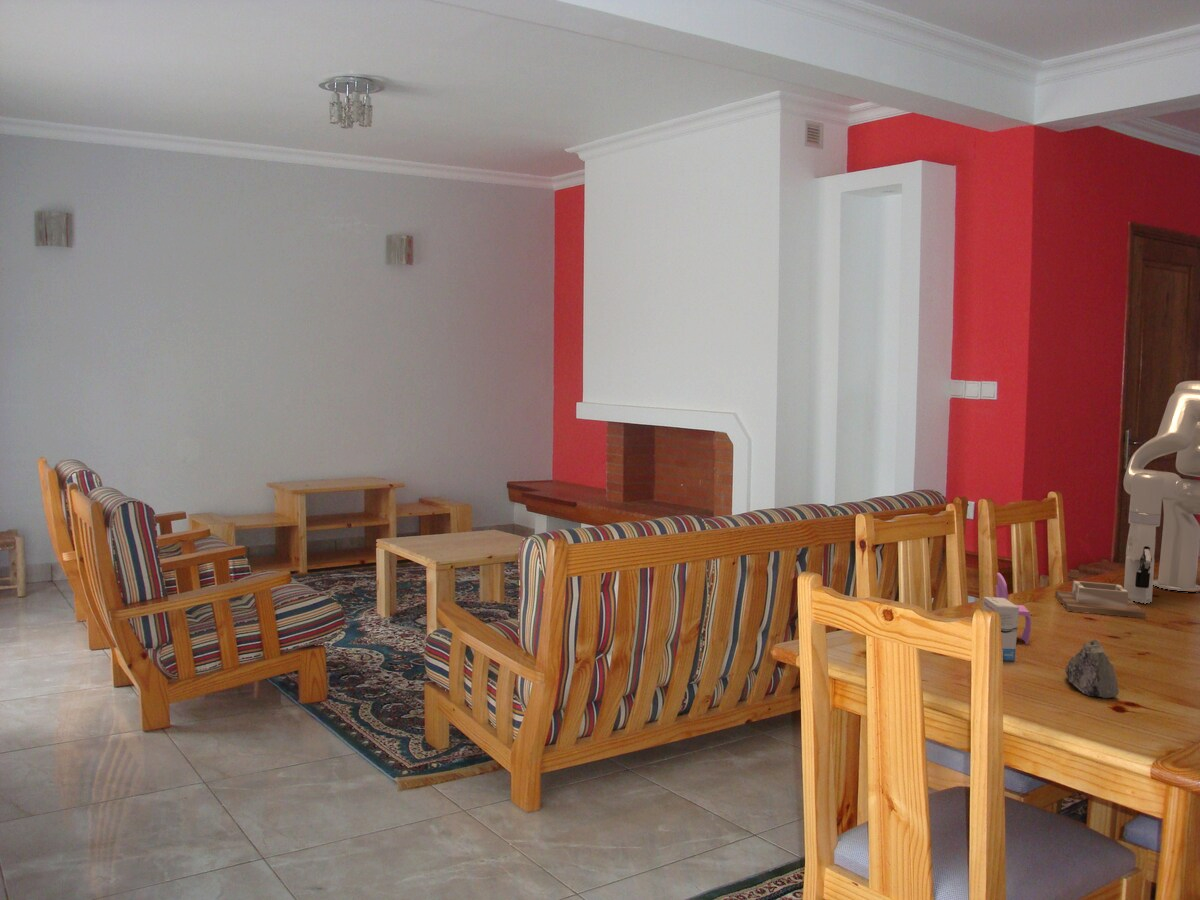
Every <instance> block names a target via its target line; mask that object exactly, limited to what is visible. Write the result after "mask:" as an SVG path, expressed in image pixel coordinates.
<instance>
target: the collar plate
mask: <svg viewBox="0 0 1200 900" xmlns="http://www.w3.org/2000/svg"><path fill="white" fill-rule="evenodd" d="M1055 595H1056V596H1055ZM1055 595H1054V596H1055V597H1057V598H1058V599H1059V600H1060V601H1061V603H1062V604H1063V605H1064V606H1065V607H1064V606H1063V605H1062V604H1061V603H1060V604H1061V605H1062V606H1063V607H1064V609H1065V608H1066V609H1067V610H1069V611H1079V612H1089V613H1098V614H1097V615H1100V614H1106V615H1105V616H1110V615H1117V616H1116V617H1121V616H1128V617H1127V618H1131V617H1136V618H1135V619H1142V618H1145V619H1146V614H1147V613H1146V612H1145V611H1144V610H1143V609H1142V608H1141V607H1140V606H1139V605H1138V604H1136V602H1133V601H1132V600H1131V599H1129V598H1128V591H1126V590H1125V589H1124V586H1122V585H1121V584H1117V583H1116V584H1115V583H1106V582H1105V583H1104V582H1092V581H1081V580H1072V589H1071V591H1063V590H1062V591H1061V590H1055ZM1057 598H1056V599H1057ZM1058 599H1057V600H1058ZM1059 600H1058V601H1059ZM1060 601H1059V602H1060ZM1066 609H1065V610H1066ZM1067 610H1066V611H1067ZM1089 613H1088V614H1089Z"/></svg>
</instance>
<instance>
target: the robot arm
mask: <svg viewBox="0 0 1200 900" xmlns="http://www.w3.org/2000/svg"><path fill="white" fill-rule="evenodd" d="M1173 453H1176V457H1175V458H1176V459H1175V469H1176V470H1177V472H1178V473H1180V474H1182V475H1184V476H1190V477H1196V478H1198V477H1199V478H1200V380H1186V381H1182V382H1179V383H1178V384H1177V385H1176V386H1175V389H1174V391H1173V393H1172V394H1171V395H1170V397H1169V398H1168V401H1167V404H1166V407H1165V411H1164V413H1163V416H1162V420H1161V422H1160V425H1159V428H1158V431H1157V434H1156V435H1155V436H1154V437H1152V438H1150V439H1148V441H1146V442H1145V443H1144V444H1142V445H1140V447H1139V448H1137V449H1136V450H1135V451H1134V453H1133V454H1132V455H1131V456H1130V457H1131V458H1130V459H1129V462H1128V464H1127V467H1126V470H1125V474H1124V476H1123V488H1124V491H1125V492H1126V493H1127V494H1128V495H1129V496H1130V499H1129V500H1130V501H1129V508H1128V509H1129V511H1128V524H1129V529H1128V535H1127V542H1126V549H1125V557H1126V556H1129V557H1130V559H1131V560H1132V561H1134V562H1136V561H1137V560H1138V572H1136V582H1135V586H1136V587H1140V588H1149V580H1150V568H1151V567H1150V564H1151V563H1152V562H1153V560H1154V561H1155V551H1156V536H1157V527H1158V528H1159V527H1160V525H1161V516H1162V505H1163V523H1162V524H1163V525H1162V534H1161V535H1162V536H1161V537H1162V538H1161V544H1160V545H1161V547H1160V555H1159V556H1160V559H1159V567H1158V579H1153V585H1154V586H1153V587H1155V586H1157V587H1159V588H1158V589H1161V588H1163V589H1162V590H1165V589H1168V590H1167V591H1170V590H1177V591H1198V590H1200V585H1198V584H1197V574H1198V564H1199V555H1200V523H1199V522H1198V520H1197V519H1196V517H1195V516H1194V515H1199V516H1200V480H1197V479H1188V478H1181V476H1180V475H1178V474H1176V473H1175V472H1169V471H1161V470H1153V469H1146V468H1145V467H1146V466H1147V464H1149V463H1150V462H1152V461H1153V460H1156V459H1157V458H1160V457H1163V456H1166V455H1170V454H1173ZM1144 468H1145V469H1144ZM1140 559H1142V560H1145V561H1140ZM1141 564H1142V567H1141ZM1157 587H1156V588H1157ZM1177 591H1176V592H1177Z"/></svg>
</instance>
